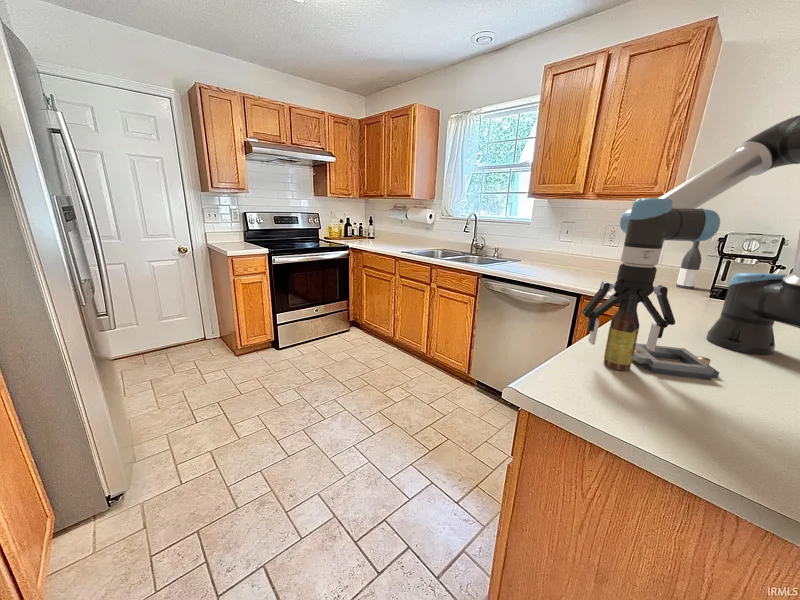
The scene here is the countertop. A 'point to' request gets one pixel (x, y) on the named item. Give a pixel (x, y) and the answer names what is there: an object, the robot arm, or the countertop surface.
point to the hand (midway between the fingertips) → (620, 345)
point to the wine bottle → (689, 268)
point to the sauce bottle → (622, 335)
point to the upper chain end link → (647, 358)
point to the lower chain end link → (679, 373)
